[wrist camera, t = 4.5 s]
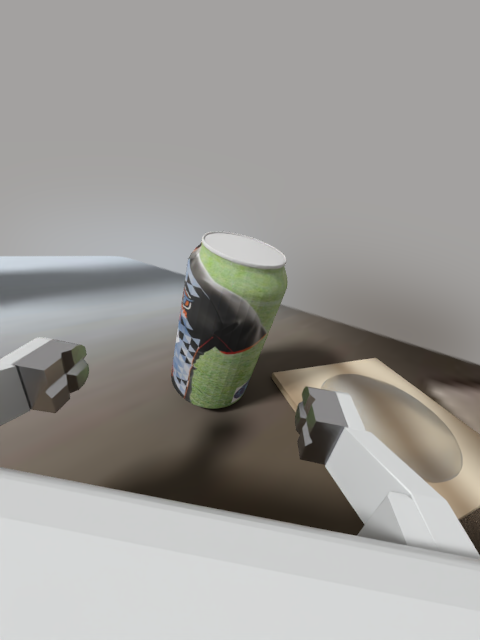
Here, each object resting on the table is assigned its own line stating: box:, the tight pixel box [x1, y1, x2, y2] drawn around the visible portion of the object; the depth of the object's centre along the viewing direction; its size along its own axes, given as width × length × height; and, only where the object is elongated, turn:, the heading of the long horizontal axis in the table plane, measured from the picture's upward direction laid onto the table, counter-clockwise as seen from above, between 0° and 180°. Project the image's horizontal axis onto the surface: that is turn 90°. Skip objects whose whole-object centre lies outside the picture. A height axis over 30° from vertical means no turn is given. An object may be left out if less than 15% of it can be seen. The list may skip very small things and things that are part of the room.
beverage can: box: [171, 231, 287, 409], centre depth 17 cm, size 6×7×12 cm
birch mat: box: [271, 358, 480, 520], centre depth 19 cm, size 13×13×1 cm
